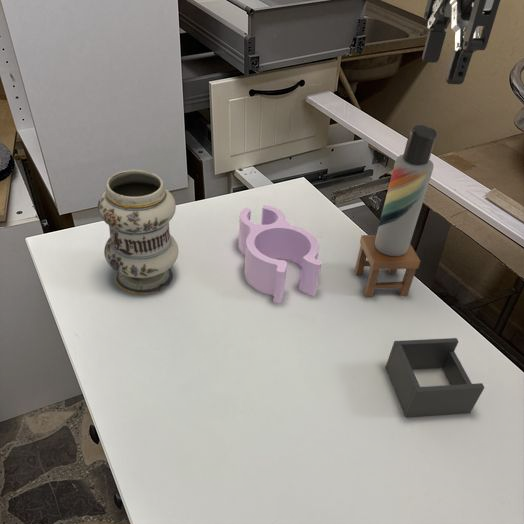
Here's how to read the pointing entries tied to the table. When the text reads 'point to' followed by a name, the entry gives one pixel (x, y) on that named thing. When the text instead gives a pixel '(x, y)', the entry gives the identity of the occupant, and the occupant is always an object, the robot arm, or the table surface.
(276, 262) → the clip
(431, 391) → the dark grey open box
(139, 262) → the apothecary jar
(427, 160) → the lotion bottle
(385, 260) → the stool
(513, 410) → the table surface
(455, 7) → the robot arm
